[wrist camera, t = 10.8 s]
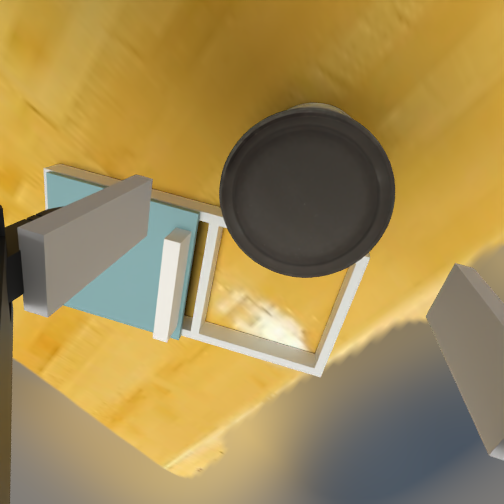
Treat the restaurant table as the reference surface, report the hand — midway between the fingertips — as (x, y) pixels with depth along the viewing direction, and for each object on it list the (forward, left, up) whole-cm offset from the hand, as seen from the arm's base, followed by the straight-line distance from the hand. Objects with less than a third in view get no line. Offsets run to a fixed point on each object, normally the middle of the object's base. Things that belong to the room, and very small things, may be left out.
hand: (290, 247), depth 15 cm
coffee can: (0, 0, -21) cm, 21 cm away
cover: (+15, -17, -18) cm, 29 cm away
